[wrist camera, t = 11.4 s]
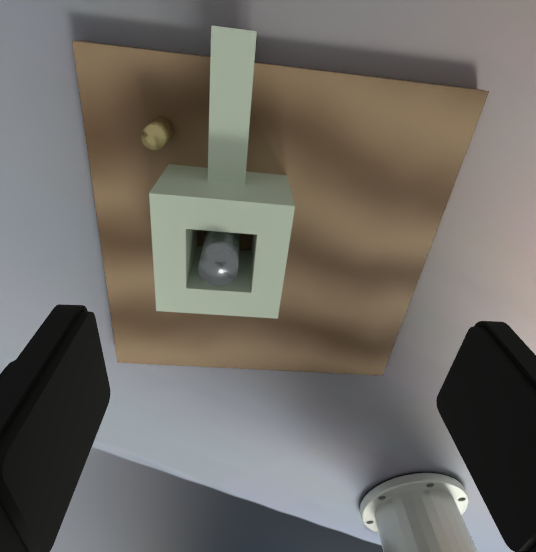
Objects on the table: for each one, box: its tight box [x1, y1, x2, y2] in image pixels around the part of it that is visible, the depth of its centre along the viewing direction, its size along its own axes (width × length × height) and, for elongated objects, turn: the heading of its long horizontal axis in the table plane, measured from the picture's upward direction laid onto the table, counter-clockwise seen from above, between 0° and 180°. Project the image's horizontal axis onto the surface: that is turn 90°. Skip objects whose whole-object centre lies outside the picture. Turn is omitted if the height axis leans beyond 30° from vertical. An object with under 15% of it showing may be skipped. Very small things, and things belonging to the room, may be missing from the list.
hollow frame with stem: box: [149, 25, 295, 319], centre depth 20 cm, size 14×7×5 cm, turn 174°
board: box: [72, 41, 489, 375], centre depth 26 cm, size 22×22×1 cm
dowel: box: [141, 117, 174, 150], centre depth 20 cm, size 1×1×2 cm
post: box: [198, 231, 240, 286], centre depth 22 cm, size 2×2×6 cm
